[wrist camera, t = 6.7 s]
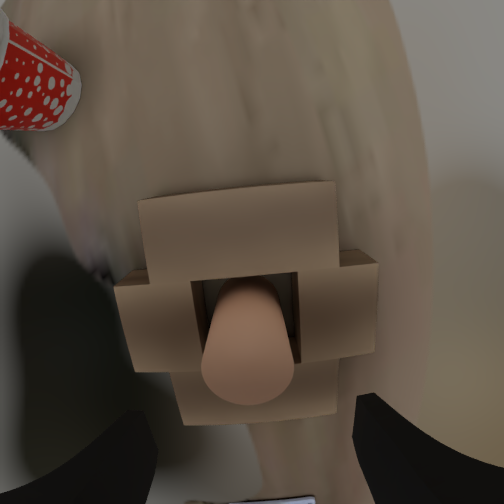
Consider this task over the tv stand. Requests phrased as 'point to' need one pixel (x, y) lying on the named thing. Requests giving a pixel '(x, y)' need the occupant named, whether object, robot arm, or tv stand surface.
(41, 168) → the tv stand surface
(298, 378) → the socket block
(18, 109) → the beverage cup
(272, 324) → the peg
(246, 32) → the tv stand surface
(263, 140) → the tv stand surface
